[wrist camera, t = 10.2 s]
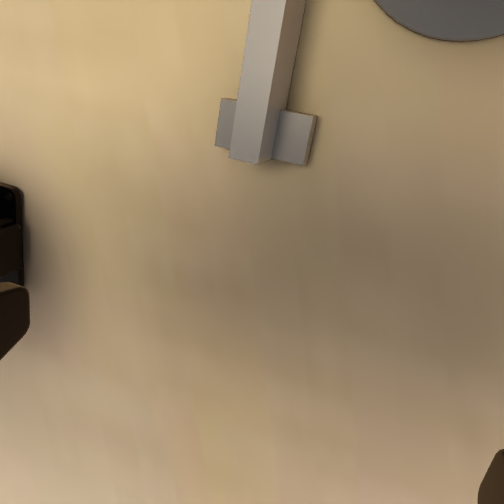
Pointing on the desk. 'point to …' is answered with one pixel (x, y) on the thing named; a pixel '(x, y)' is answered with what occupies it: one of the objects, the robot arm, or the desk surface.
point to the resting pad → (448, 17)
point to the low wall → (267, 91)
